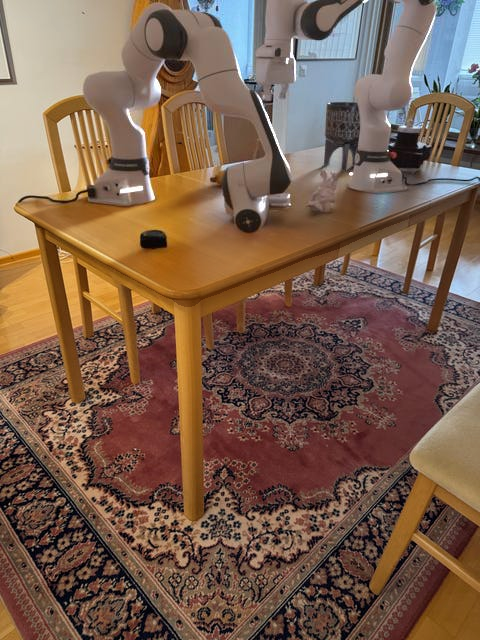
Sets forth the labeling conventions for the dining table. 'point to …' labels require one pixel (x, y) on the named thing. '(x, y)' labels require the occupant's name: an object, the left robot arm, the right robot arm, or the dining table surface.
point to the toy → (217, 177)
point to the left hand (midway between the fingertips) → (259, 193)
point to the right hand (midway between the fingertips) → (275, 99)
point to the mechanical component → (409, 148)
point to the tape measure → (153, 239)
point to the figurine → (324, 194)
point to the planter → (342, 130)
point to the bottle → (259, 151)
